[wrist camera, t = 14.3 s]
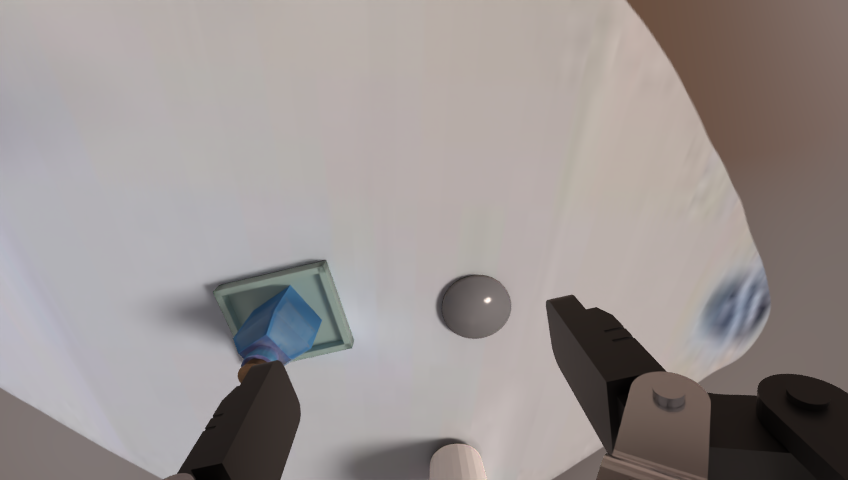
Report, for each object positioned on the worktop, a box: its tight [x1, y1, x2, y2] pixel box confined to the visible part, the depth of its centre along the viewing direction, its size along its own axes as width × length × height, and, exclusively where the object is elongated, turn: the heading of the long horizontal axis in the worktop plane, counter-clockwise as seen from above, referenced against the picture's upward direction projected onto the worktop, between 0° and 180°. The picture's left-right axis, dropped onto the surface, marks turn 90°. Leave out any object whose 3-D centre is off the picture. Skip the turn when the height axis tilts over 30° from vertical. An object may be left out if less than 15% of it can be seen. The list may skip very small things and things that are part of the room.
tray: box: [213, 260, 354, 362], centre depth 51 cm, size 12×14×2 cm
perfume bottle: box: [233, 285, 322, 383], centre depth 45 cm, size 6×6×12 cm
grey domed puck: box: [442, 275, 511, 339], centre depth 52 cm, size 9×9×1 cm
